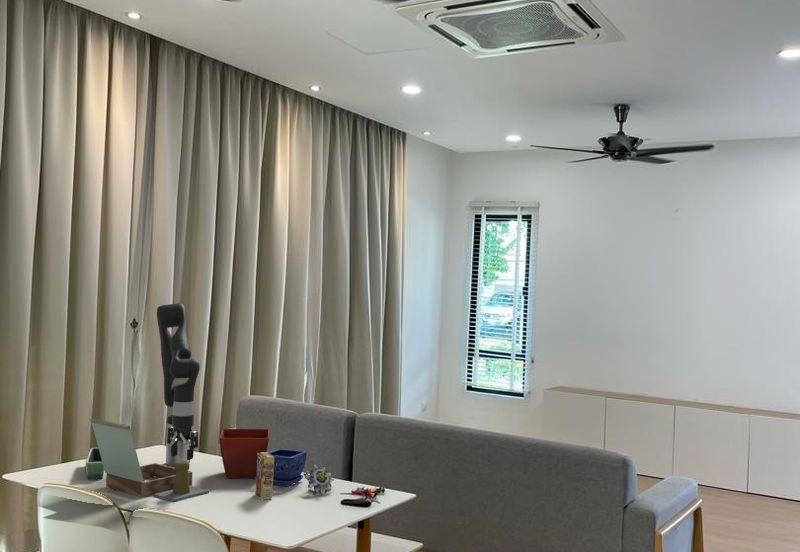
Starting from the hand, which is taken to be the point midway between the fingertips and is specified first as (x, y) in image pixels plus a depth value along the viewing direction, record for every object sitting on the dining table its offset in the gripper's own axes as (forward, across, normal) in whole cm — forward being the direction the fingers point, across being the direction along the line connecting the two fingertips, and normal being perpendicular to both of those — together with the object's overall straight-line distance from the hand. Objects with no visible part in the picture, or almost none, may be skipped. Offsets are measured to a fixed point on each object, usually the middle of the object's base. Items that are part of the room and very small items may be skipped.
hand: (181, 457), depth 280 cm
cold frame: (+13, +17, +1) cm, 21 cm away
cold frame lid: (-3, +17, +15) cm, 23 cm away
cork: (+12, -2, +1) cm, 12 cm away
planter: (+14, +50, +1) cm, 52 cm away
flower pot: (+13, -19, -35) cm, 42 cm away
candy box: (+13, -27, -16) cm, 34 cm away
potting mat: (+13, -2, +1) cm, 13 cm away
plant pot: (+14, +2, -34) cm, 37 cm away
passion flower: (+13, -37, -34) cm, 51 cm away
